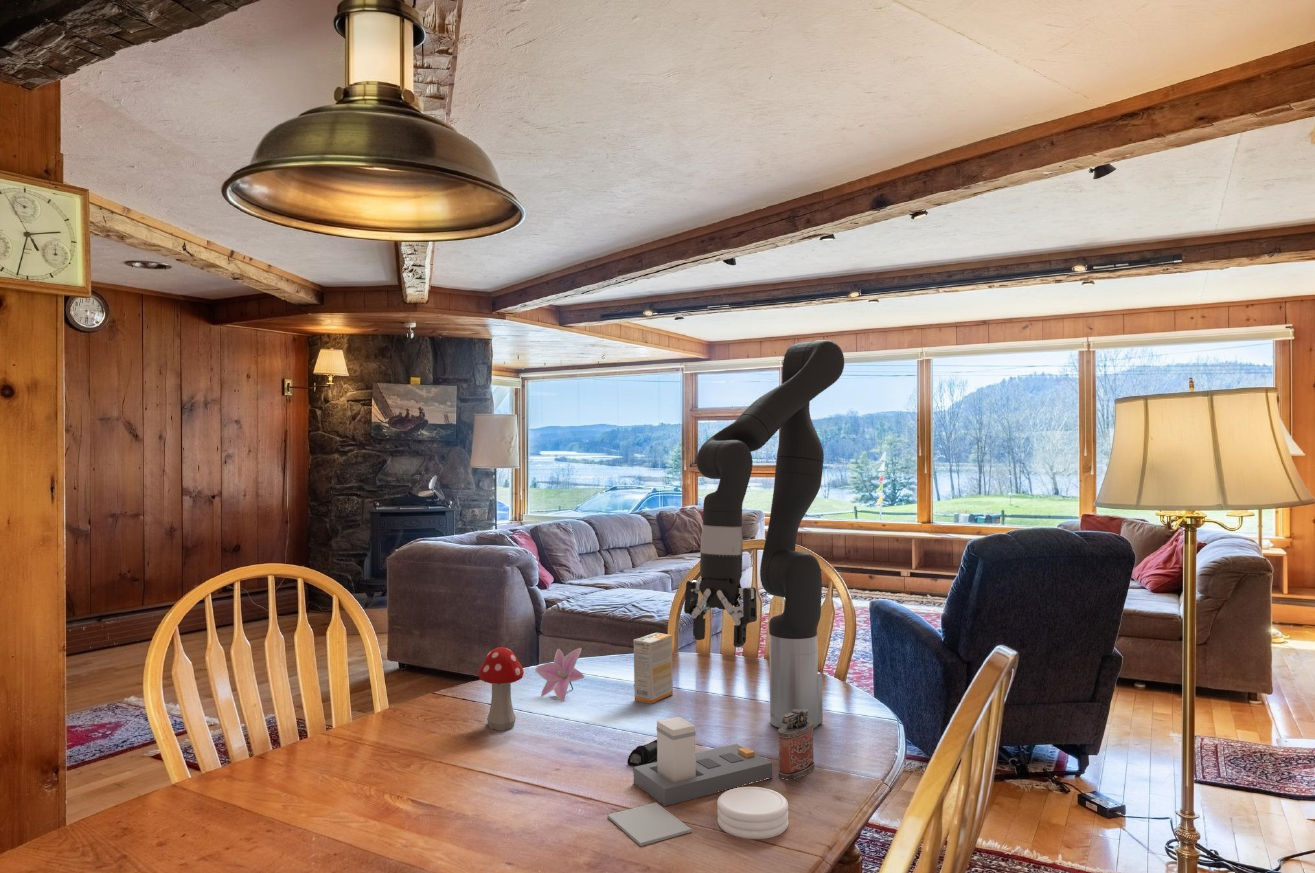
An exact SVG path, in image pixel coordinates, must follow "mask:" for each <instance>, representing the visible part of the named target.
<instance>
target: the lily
mask: <svg viewBox="0 0 1315 873" xmlns="http://www.w3.org/2000/svg"><path fill="white" fill-rule="evenodd" d="M581 652H582V647H578V648H576V649H574V650H572V651H570V652H568V653H567V654H566V655H564V653H563V651H562V650H561V648H557V649H556V652H555V654H554V658H553V659H554V660H553V662H547V663H544V664H541V665H538V666H536V667H535V668H534V671H535V673H537V674H538V675H539V676H540V677H541V678H542V679H543V680H545V681H546V683H545V684H544V687H543V689H542V692H541V697H544V696H546V695H548V694H549V693H551V692H553V691H554V693H555V695H556V697H557V698H558V700H559V701H560V702H562V701H563V702H564V701H565V699H566V696H567V692H568V687H569V685H570V686H571V687H570V688H571V690H572V691H574V690H573V689H574V687H573V684H572V682H576V681H579V680H583V679H584V678H585V675H584V674H583V673H582V672H580V670H578V668H577V669H576V668H575V666H576V664H577V662H578V660H579V657H580V655H581Z"/></svg>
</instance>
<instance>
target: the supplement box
mask: <svg viewBox="0 0 1315 873" xmlns="http://www.w3.org/2000/svg"><path fill="white" fill-rule="evenodd" d="M632 642H633V679H634V680H633V681H634V682H633V683H634V685H633V686H634V701H636V702H639V703H646V704H654V703H657V702H658V701H660V700H662V699H665V698H667V697H669V696H671V695H673V694H674V692H673V691H674V689H673V688H674V687H673V686H674V682H673V635H672V634H667V633H661V632H654V633H650V634H647V635H644V636H641V637H639V638H634V639H633V641H632Z"/></svg>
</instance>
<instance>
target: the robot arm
mask: <svg viewBox="0 0 1315 873" xmlns="http://www.w3.org/2000/svg"><path fill="white" fill-rule="evenodd" d="M844 368H845V356H844V352H843V350H842V348H841V347H840V345H839V344H838V343H836V342H834V341H833V340H830V339H820V340H812V341H805V342H804V341H803V342H799V343H794V344H792V345H790V346H789V347H788V348H787V349H786V351H785V354H784V357H783V360H782V369H781V370H782V372H781V384H780V385H779V386H777V387H775V388H773V389H771V390H769V391H768V392H766V393H764V394H763V395H761V396H760V397H758V398H757V399H756V400H755V401H753V402H752V403H751V404H750V405H749V406H748V407H747V408H746V409H745V410H744V411H743V412H742V413H741V414H740V415H739V416H738V417H737V419H735V421H733V422H731V423H730V424H729V425H727V426H725V427H724V428H722V429H721V430H719V431H718V432H716V433H715V434H713V435H712V436H711V437H710V438H708V439H706V441H705V442H704V443H703V444H702V446H701V447H700V448H699V450H698V452H697V455H696V466H697V467H696V468H697V470H698V472H699V473H700V474H701V475H702V476H703V477H705V478H707V479H712V480H719V482H718V484H717V485H718V486H717V488H716V490H715V491H714V492H710V493H708V494H706V495H705V496H704V499H703V507H702V509H703V510H702V528H701V537H700V556H699V557H700V558H699V575H700V577H701V580H700V581H699V580H696V579H693V580H687V581H686V583H685V594H684V606H683V612H684V613H685V614H686V615H690V616H691V618H693V619H692V620H693V621H692V622H693V623H692V635H693V636H694V640H695V641H701V640H705V638H706V618H704V617H705V616H706V614H707V613H708V611H709V610H711V609H715V608H717V609H719V610H723V611H726V612H727V614H728V615H730V617H731V618H732V620H733V622H734V625H733V647H734V648H742V647H743V646H744V645H745V644H746V642H747V626H748V624H750V623H755V622H757V620H758V611H757V607H758V606H757V589H756V587H754V586H751V587H750V586H749V587H742V585H741V578H742V576H743V551H744V550H743V549H744V548H743V545H744V543H743V542H744V538H743V529H742V526H743V524H742V523H743V503H744V500H745V497H746V494H747V489H748V486H749V483H750V479H751V475H752V472H753V465H754V464H753V455H752V452H756V451H759V450H760V449H761V448H762V447H764V445H766V444H767V443H768V442H769V441H770V439H771V438H772V437H773V436H774V435H775V434H776V433H777V432H778V431H779V437H778V440H779V441H778V444H777V445H778V447H777V453H776V461H775V469H774V470H775V471H774V472H775V473H774V481H773V482H774V483H773V491H772V492H773V494H772V500H771V509H770V514H769V521H768V525H767V526H768V527H767V532H766V536H765V541H764V544H763V545H764V546H763V549H762V550H763V551H762V556H761V560H760V566H759V567H760V570H759V578H760V583H761V585H762V588H763V589H764V591H765V592H766V593H767V594H769V595H772V596H776V597H779V598H784V609H783V612H782V613H781V614H778V615H774V616H772V617H771V618H770V619H769V621H768V622H769V623H768V634H769V635H768V640H769V642H768V645H769V646H768V648H769V649H768V650H769V651H768V652H769V703H770V705H769V710H770V712H769V715H770V716H769V717H770V718H769V719H770V721H769V722H770V724H771V725H772V726H774V727H776V728H778V729H779V728H781V727H782V726H784V725H787V724H782V717H783V715H786V714H788V713H791V712H792V710H793V709H797V710H801V709H807V710H808V717H807V720H811V721H813V722H814V728H813V729H815V728H817V727H818V726H819V725H820V724H822V723H823V722H824V721H823V717H824V714H823V712H824V711H823V675H822V672H819V671H818V670H819V668H818V667H819V665H818V664H819V662H818V656H819V654H818V626H819V622H820V619H821V616H822V588H823V579H822V578H823V577H822V569H821V565H820V562H819V560H818V559H817V558H816V556H814V555H813V554H811V553H809V552H803V551H797V550H796V546H797V545H796V544H797V536H798V531H799V528H800V525H801V523H802V520H803V519H804V517H805V515H806V514H807V512H808V510H809V509H810V507H811V505H812V504H813V502H814V501H815V499H816V497H817V495H818V494H819V491H820V488H821V485H822V480H823V471H824V458H825V456H824V455H825V454H824V448H823V445H822V443H821V440H820V438H819V435H818V433H817V430H816V428H815V426H814V423H813V421H812V418H811V414H810V402H811V401H812V400H814V399H815V398H816V397H818V396H819V394H821V393H823V392H824V391H826V389H828V388H830V387H831V386H832V385H834V384H835V383H836V382H837V381H838V380H839V379H840V377H841V376H842V374H843V371H844ZM699 593H700V594H701V595H702V596H701V598H700V599H699ZM739 598H741V599H742V603H741V601H740V599H739Z"/></svg>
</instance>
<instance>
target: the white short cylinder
mask: <svg viewBox="0 0 1315 873" xmlns="http://www.w3.org/2000/svg"><path fill="white" fill-rule="evenodd" d="M716 804H717V811H716V813H717V819H716V820H717V824H718V826H719V828H720V829H721V830H723V831H724V832H726V833H727V834H729V835H731V836H734V837H737V838H741V839H747V840H765V839H771V838H774V837H777V836H779V835H781V834H783V833H784V832H785V831H787V829H788V827H789V818H788V817H789V814H790V813H789V810H788V809H789V802H788V799H787V798H786V797H785V796H783V795H782V794H781V793H780V792H777V791H775V790H773V789H770V788H764V787H760V786H741V787H737V788H733V789H729V790H725V791H723V793H721V794H720V795H719V797H718V799H717V802H716Z"/></svg>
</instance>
